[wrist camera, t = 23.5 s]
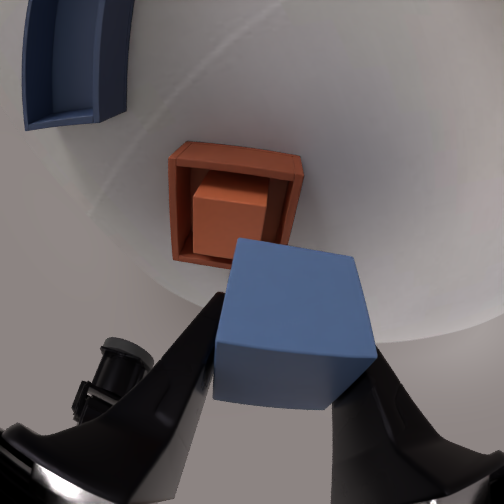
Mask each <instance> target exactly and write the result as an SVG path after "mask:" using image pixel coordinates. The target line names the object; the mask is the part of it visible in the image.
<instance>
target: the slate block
mask: <svg viewBox="0 0 504 504" xmlns="http://www.w3.org/2000/svg"><path fill="white" fill-rule="evenodd" d="M376 359H377V351H376V346H375V341H374V336H373V332H372V327H371V323H370V318H369V314H368V310H367V306H366V302H365V298H364V294H363V290H362V286H361V283H360V279H359V276H358V272H357V268H356V265H355V262H354V258H353V257H351V256H346V255H340V254H334V253H328V252H323V251H317V250H311V249H305V248H299V247H294V246H288V245H282V244H276V243H270V242H264V241H258V240H252V239H245V238H238V239H237V244H236V248H235V252H234V257H233V261H232V266H231V270H230V275H229V279H228V284H227V288H226V293H225V298H224V302H223V307H222V311H221V316H220V321H219V326H218V330H217V335H216V340H215V357H214V376H213V377H214V378H213V399H214V400H220V401H226V402H232V403H239V404H247V405H254V406H263V407H274V408H287V409H304V410H305V409H306V410H325V409H326V408H327V407H328V406H329V405H330V404H331V403H333V402H334V401H335V400H336V399H337V398H338V397H339V396H340V395H341V394H342V393H343V392H344V391H345V390H346V389H348V388H349V387H350V386H351V385H352V384H353V383H354V382H355V381H356V380H357V379H358V378H359V377H360V376H361V375H362V374H363V373H364V372H365V371H366V369H367V368H368V367H369V366H370V365H371V364H372V363H373V362H374V361H375V360H376Z"/></svg>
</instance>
